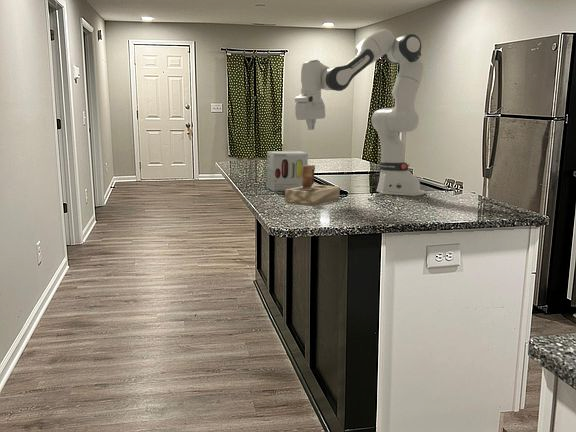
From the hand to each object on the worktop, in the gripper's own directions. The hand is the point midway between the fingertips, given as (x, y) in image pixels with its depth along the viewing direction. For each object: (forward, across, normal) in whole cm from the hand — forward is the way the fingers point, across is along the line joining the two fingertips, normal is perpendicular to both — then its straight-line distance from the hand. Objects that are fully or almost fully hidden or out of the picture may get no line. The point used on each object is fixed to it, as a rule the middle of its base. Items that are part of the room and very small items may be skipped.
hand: (311, 129), depth 261 cm
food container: (+30, -31, -23) cm, 49 cm away
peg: (+28, +16, +8) cm, 33 cm away
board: (+29, +12, +8) cm, 32 cm away
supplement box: (+30, -9, -19) cm, 36 cm away
